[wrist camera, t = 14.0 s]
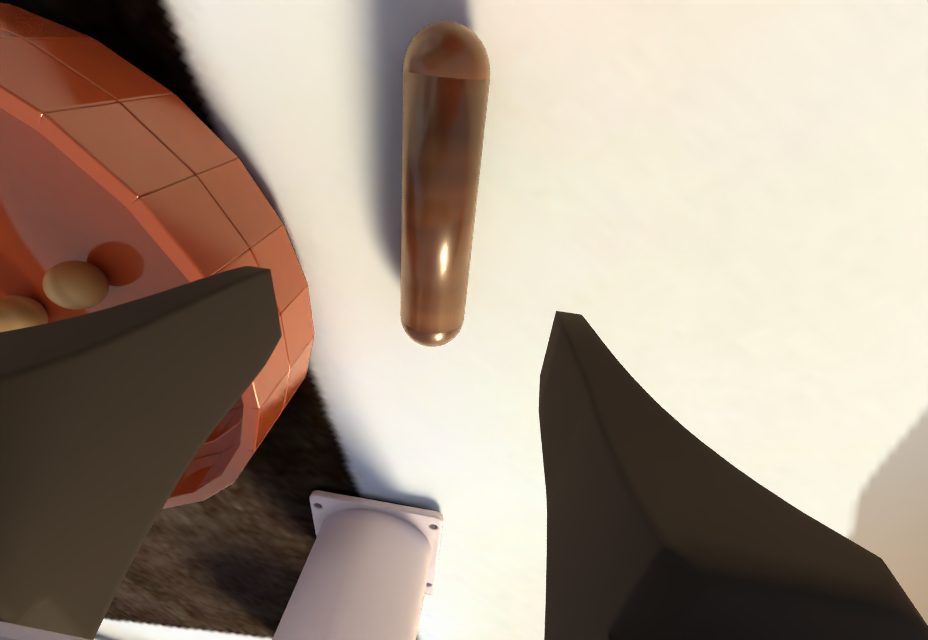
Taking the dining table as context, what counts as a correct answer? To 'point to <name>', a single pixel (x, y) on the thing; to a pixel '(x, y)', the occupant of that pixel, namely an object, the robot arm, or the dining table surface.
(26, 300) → the bead
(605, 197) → the dining table surface
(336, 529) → the robot arm
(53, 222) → the bowl
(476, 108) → the stick
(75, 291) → the bead
